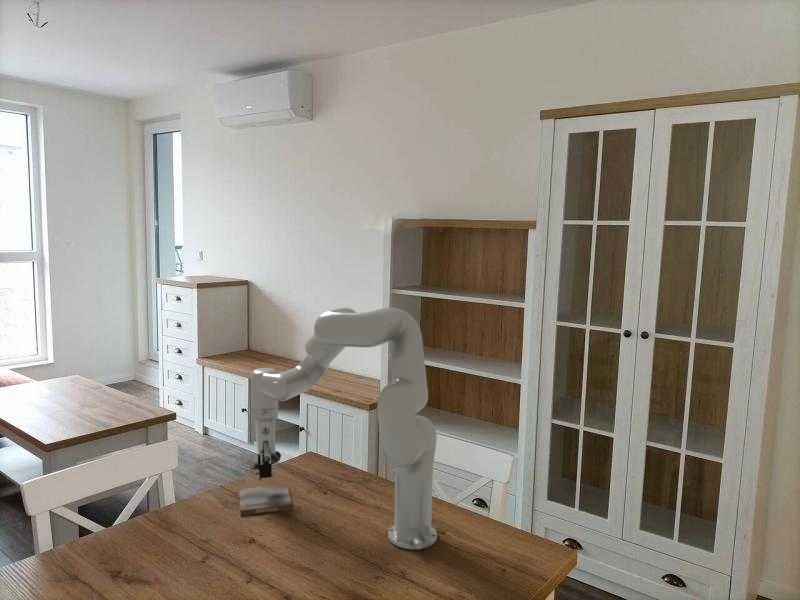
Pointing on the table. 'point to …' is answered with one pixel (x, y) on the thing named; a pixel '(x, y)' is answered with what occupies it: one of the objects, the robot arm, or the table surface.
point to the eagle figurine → (274, 459)
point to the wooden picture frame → (264, 499)
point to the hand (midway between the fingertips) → (264, 470)
